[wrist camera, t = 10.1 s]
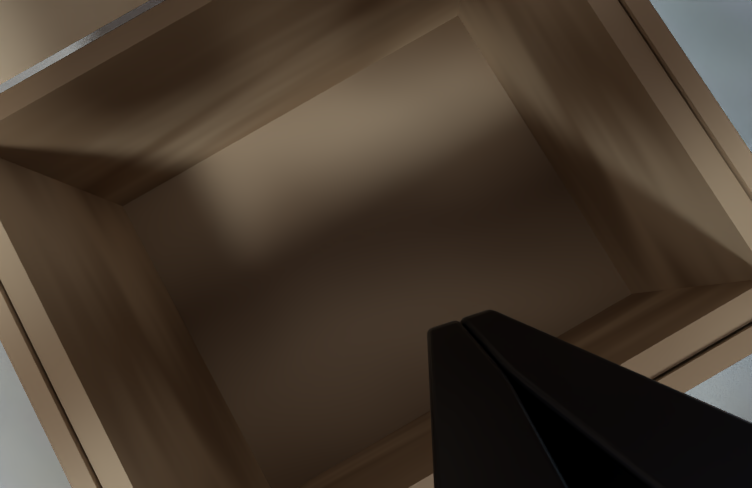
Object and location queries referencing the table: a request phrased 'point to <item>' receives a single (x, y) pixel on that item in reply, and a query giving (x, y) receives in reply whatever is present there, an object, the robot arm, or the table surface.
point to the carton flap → (49, 28)
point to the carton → (352, 225)
